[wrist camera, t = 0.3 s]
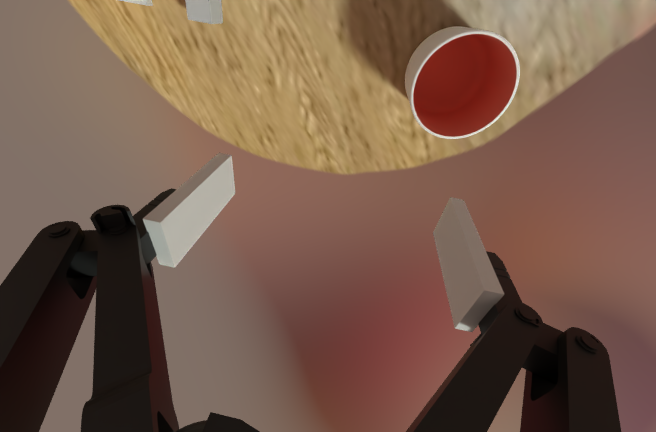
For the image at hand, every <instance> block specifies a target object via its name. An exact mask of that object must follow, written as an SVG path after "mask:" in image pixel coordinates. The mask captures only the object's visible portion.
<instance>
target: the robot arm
mask: <svg viewBox="0 0 656 432" xmlns="http://www.w3.org/2000/svg"><path fill="white" fill-rule="evenodd" d="M234 194H235V185H234V175H233V165H232V155H228V154H223V153H218V154H217V155H216V156H215V157H214V158H213V159H212V160H210V161H209V162H208V163H207V164H206V165H205V166H203V167H202V168H201V169H200V170H199V171H198V172H196V173H195V174H194V175H193V176H192V177H191V178H189V179H188V180H187V181H186V182H185V183H184V184H183V185H181V186H180V187H179V188H178V189H177V190H176V189H169V190H167V191H165V192H162V193H161V194H159V195H158V196H157V197H156V198H155V199H154V200H152V201H151V202H150V203H149V204H148V205H146V206H145V207H143V208H142V209H141V210H140V211H139V212H137V213H136V214H135V215H134V216H132V214H131V212H130V209H129V208H128V207H126V206H124V205H111V206H107V207H103V208H101V209H99V210H97V211H96V212H94V213H93V214H92V216H91V220H92V222H93V224H94V226H95V228H96V230H85V231H82V230H81V228H80V226H79V225H78V223H76V222H73V221H64V222H58V223H55V224H52V225H49V226H47V227H46V228H44V229H42V230H41V231H40V232H39V233H38V234H37V236H36V237H35V238H34V240H33V241H32V243H31V244H30V245H29V247H28V248H27V249H26V251H25V252H24V254H23V255H22V257H21V258H20V259H19V261H18V262H17V263H16V265H15V266H14V267H13V269H12V270H11V272H10V273H9V274H8V276H7V277H6V279H5V280H4V281H3V283H2V284H1V285H0V432H39V430H40V427H41V425H42V422H43V420H44V417H45V415H46V412H47V410H48V407H49V405H50V402H51V400H52V397H53V395H54V392H55V390H56V387H57V385H58V382H59V380H60V377H61V375H62V373H63V370H64V367H65V365H66V362H67V360H68V358H69V355H70V352H71V350H72V347H73V345H74V342H75V340H76V337H77V335H78V332H79V330H80V328H81V325H82V323H83V320H84V318H85V315H86V312H87V310H88V308H89V305H90V303H91V300H92V297H93V295H94V292H95V290H96V316H95V343H94V370H93V393H92V397H91V399H90V400H89V401H87V402H86V403H85V405H84V408H83V412H82V421H81V432H259V431H258V430H256V429H255V428H253V427H252V426H250V425H248V424H247V423H245V422H244V421H242V420H240V419H236V418H232V417H228V416H224V415H220V414H216V413H210V415H209V417H208V420H206V421H200V422H196V423H193V424H190V425H187V426H185V427H183V428H181V429H179V425H178V421H177V417H176V414H175V411H174V407H173V402H172V395H171V388H170V382H169V375H168V369H167V361H166V355H165V348H164V342H163V335H162V328H161V321H160V314H159V308H158V301H157V294H156V287H155V280H154V274H153V267H152V264H151V261H152V260H153V258H154V257H155V256H157V259H158V262H159V264H161V265H165V266H170V267H174V268H175V267H176V265H177V264H178V263H179V262H180V261H181V259H182V258H183V257H184V256H185V255H186V253H187V252H188V251H189V250H190V248H191V247H192V246H193V245H194V244H195V242H196V241H197V240H198V239H199V237H200V236H201V235H202V234H203V232H204V231H205V230H206V229H207V228H208V226H209V225H210V224H211V223H212V221H213V220H214V219H215V218H216V216H217V215H218V214H219V213H220V212H221V210H222V209H223V208H224V207H225V205H226V204H227V203H228V202H229V200H230V199H231V198H232V197H233V196H234ZM433 235H434V239H435V243H436V248H437V252H438V257H439V261H440V265H441V270H442V274H443V278H444V283H445V287H446V292H447V296H448V300H449V305H450V309H451V314H452V318H453V322H454V327H455V328H456V329H461V330H465V331H470V332H472V331H473V330H474V329H475V328H476V327H477V326H478V325H479V327H480V331H481V334H480V335H479V336H478V337H477V338H476V339H475V341H474V342H473V343H472V344H471V345H470V346H471V347H470V348H469V349H468V350H467V352H466V353H465V354H464V356H463V357H462V358H461V360H460V361H459V362H458V364H457V365H456V367H455V368H454V369H453V370H452V372H451V373H450V374H449V375H448V377H447V378H446V380H445V381H444V382H443V383H442V385H441V386H440V387H439V389H438V390H437V392H436V393H435V394H434V395H433V397H432V398H431V399H430V401H429V402H428V403H427V404H426V406H425V407H424V408H423V410H422V411H421V412H420V414H419V415H418V417H417V418H416V419H415V420H414V422H413V423H412V424H411V426H410V427H409V428H408V429H407V431H406V432H487V431H488V429H489V427H490V425H491V423H492V421H493V420H494V417H495V416H496V414H497V412H498V410H499V408H500V407H501V405H502V403H503V401H504V399H505V397H506V395H507V394H508V392H509V390H510V388H511V386H512V384H513V383H514V381H515V379H516V377H517V375H518V373H519V371H520V370H521V368H524V369H526V376H525V387H524V397H523V407H522V418H521V428H520V432H621V428H620V421H619V415H618V409H617V403H616V396H615V390H614V384H613V378H612V372H611V366H610V360H609V355H608V352H607V350H606V348H605V347H604V345H603V344H602V343H601V342H600V341H599V340H598V339H596V337H595V336H593V335H592V334H590V333H589V332H587V331H585V330H582V329H580V328H575V327H571V328H569V329H567V330H566V331H565V332H562V331H560V330H558V329H555V328H553V327H551V326H549V325H546V324H545V323H543V322H542V319H541V317H540V316H539V315H538V313H537V312H536V311H535V310H533V309H532V308H531V307H529V306H527V305H526V304H524V303H522V301H521V299H520V297H519V295H518V293H517V291H516V288H515V286H514V284H513V283H512V280H511V279H510V276H509V274H508V272H506V268H505V266H504V264H503V261H501V260H500V258H499V257H498V256H497V255H496V254H495V253H492V252H486V251H485V248H484V246H483V244H482V241H481V239H480V237H479V234H478V232H477V230H476V227H475V225H474V223H473V220H472V218H471V216H470V214H469V211H468V209H467V207H466V204H465V202H464V200H461V199H456V198H450V199H449V201H448V204H447V205H446V207H445V209H444V211H443V214H442V216H441V218H440V220H439V222H438V224H437V226H436V228H435V230H434V232H433Z"/></svg>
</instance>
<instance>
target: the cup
mask: <svg viewBox="0 0 656 432" xmlns="http://www.w3.org/2000/svg"><path fill="white" fill-rule="evenodd" d="M519 77H520V66H519V60H518V57H517V54H516V52H515V50H514V48H513V47H512V45H511V44H510V43H509V42H508V41H507V40H506V39H505V38H504V37H502V36H501V35H499V34H497V33H494V32H491V31H487V30H481V29H474V28H468V27H460V26H455V27H448V28H444V29H441V30H439V31H437V32H435V33H433V34H432V35H430V36H429V37H427V38H426V39H425V40H424V41H423V42H422V43H421V44H420V45H419V46H418V47H417V48H416V50H415V51H414V53H413V54H412V56H411V58H410V60H409V63H408V65H407V69H406V73H405V88H406V93H407V96H408V99H409V103H410V106H411V109H412V112H413V115H414V117H415V119H416V121H417V122H418V123H419V125H420V126H421V127H422V128H423V129H424V130H426V131H427V132H428V133H430V134H432V135H434V136H437V137H441V138H447V139H457V138H464V137H468V136H471V135H473V134H476V133H478V132H480V131H482V130H484V129H485V128H487V127H488V126H490V125H491V124H492V123H494V122H495V121H496V120H497V119H498V118H499V117H500V116H501V115H502V114H503V113H504V112H505V110H506V109H507V108H508V106H509V105H510V103H511V101H512V99H513V97H514V95H515V93H516V90H517V87H518V83H519Z"/></svg>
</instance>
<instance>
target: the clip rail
mask: <svg viewBox="0 0 656 432" xmlns="http://www.w3.org/2000/svg"><path fill="white" fill-rule="evenodd" d="M120 1H125V2H131V3H136V4H142V5H147V6H153V4H152V0H120Z"/></svg>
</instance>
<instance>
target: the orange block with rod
mask: <svg viewBox="0 0 656 432" xmlns="http://www.w3.org/2000/svg"><path fill="white" fill-rule="evenodd" d="M185 1H186V8H187V15H188V20H193V21H199V22H204V23H209V24H218V23H223V17H222V4H221V0H185Z"/></svg>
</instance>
